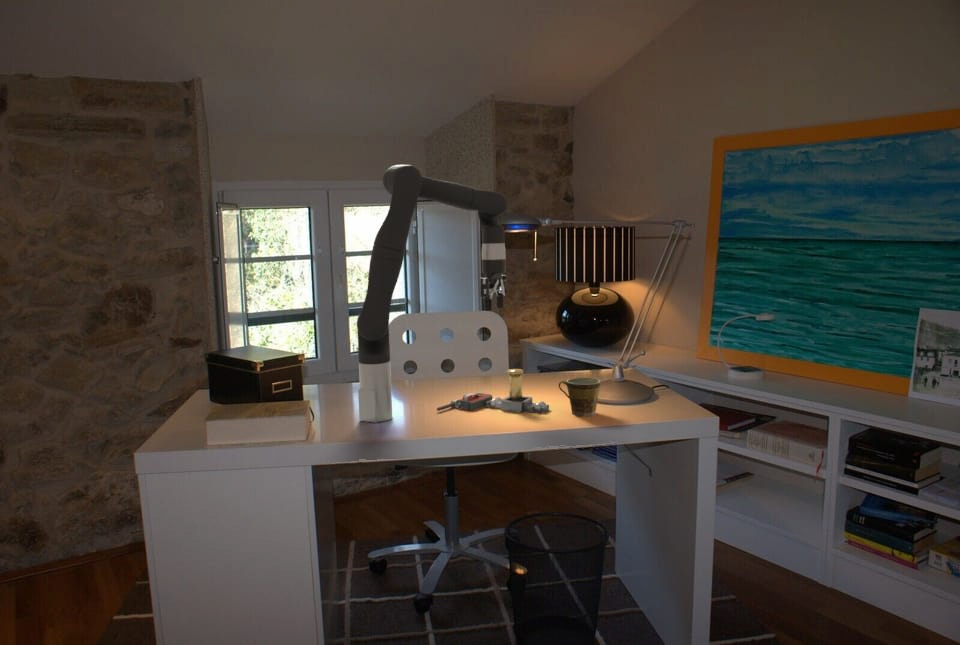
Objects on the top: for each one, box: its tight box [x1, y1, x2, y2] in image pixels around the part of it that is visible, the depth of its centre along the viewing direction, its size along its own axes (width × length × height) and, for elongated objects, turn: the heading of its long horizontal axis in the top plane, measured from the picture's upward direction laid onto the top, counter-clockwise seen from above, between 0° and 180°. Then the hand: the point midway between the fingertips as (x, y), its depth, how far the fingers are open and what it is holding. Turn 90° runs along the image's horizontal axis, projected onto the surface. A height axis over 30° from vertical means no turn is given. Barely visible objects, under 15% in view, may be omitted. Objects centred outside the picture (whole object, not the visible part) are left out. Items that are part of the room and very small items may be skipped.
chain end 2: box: [500, 395, 550, 414], centre depth 225 cm, size 8×14×3 cm, turn 62°
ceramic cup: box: [558, 377, 601, 418], centre depth 218 cm, size 13×10×10 cm
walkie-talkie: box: [436, 391, 493, 412], centre depth 229 cm, size 9×4×20 cm
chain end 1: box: [485, 396, 503, 410], centre depth 229 cm, size 5×7×2 cm
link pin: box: [507, 368, 524, 402], centre depth 225 cm, size 5×5×12 cm
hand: (494, 309), depth 231 cm, fingers open, 8 cm apart
